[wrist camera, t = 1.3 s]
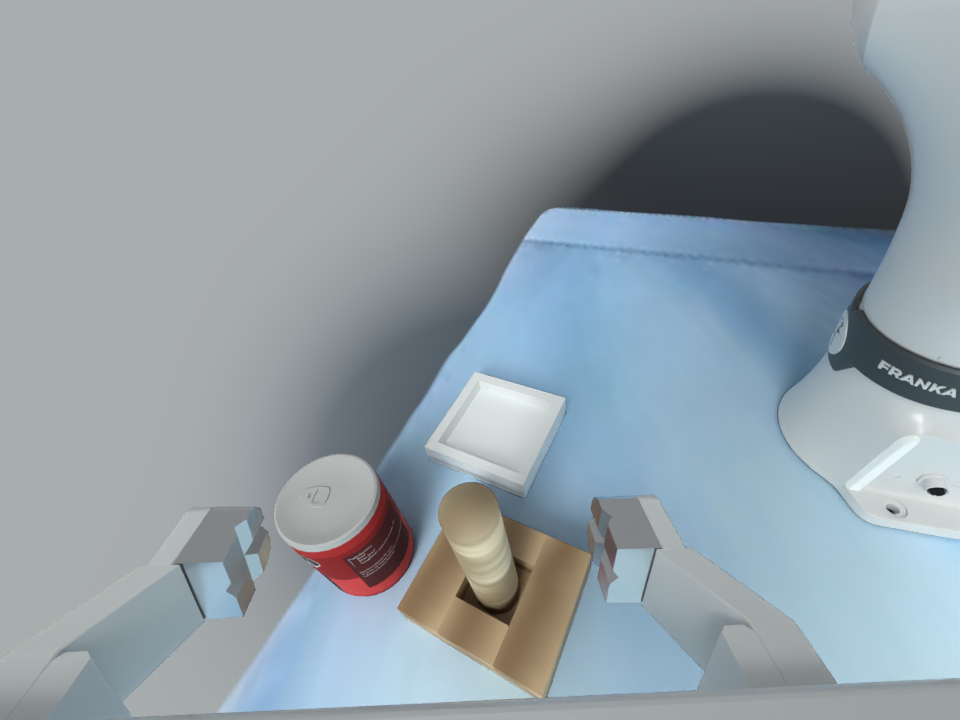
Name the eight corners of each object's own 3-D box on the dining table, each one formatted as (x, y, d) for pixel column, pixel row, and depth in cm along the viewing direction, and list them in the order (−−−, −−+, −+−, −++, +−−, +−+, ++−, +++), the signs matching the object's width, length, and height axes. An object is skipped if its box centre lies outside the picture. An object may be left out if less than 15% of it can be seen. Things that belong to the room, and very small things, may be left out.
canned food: (336, 521, 43) (284, 461, 35) (416, 507, 43) (381, 444, 35) (325, 607, 38) (260, 557, 30) (416, 591, 37) (374, 538, 30)
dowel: (527, 578, 36) (508, 495, 26) (508, 623, 34) (480, 551, 24) (488, 559, 37) (457, 474, 28) (468, 601, 35) (426, 525, 26)
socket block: (590, 568, 37) (592, 543, 33) (544, 703, 31) (540, 691, 27) (466, 512, 42) (456, 486, 38) (407, 619, 36) (389, 600, 32)
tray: (566, 412, 48) (565, 397, 46) (525, 498, 42) (522, 485, 40) (478, 386, 53) (475, 371, 51) (429, 459, 46) (424, 446, 45)
